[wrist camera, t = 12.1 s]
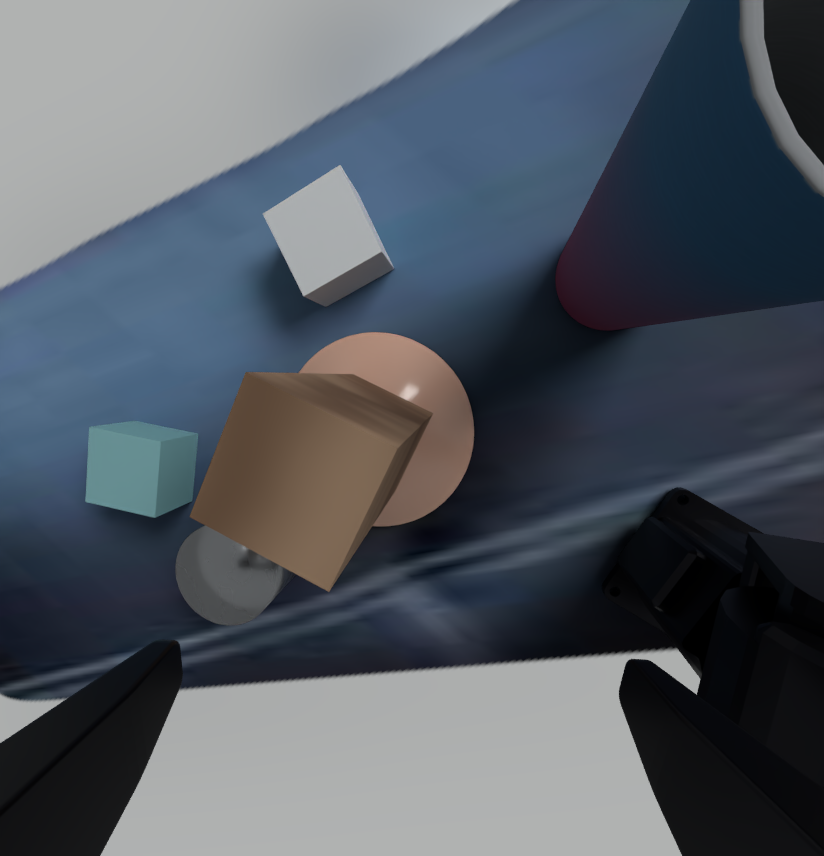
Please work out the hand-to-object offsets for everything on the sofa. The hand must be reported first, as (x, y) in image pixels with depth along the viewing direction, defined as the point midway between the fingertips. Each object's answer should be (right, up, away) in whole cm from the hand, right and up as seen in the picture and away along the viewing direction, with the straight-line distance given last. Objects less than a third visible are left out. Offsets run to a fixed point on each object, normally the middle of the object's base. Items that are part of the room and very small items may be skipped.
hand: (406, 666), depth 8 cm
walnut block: (-2, +4, +13) cm, 14 cm away
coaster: (-2, +5, +13) cm, 14 cm away
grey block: (-3, +14, +13) cm, 19 cm away
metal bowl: (-8, -2, +15) cm, 17 cm away
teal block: (-14, +3, +15) cm, 21 cm away
